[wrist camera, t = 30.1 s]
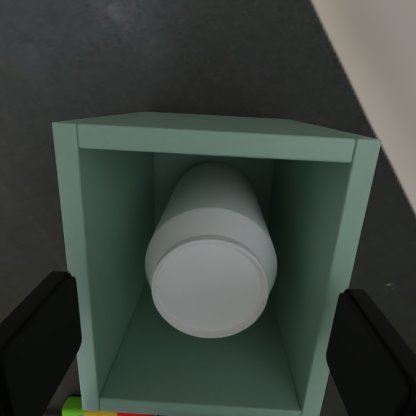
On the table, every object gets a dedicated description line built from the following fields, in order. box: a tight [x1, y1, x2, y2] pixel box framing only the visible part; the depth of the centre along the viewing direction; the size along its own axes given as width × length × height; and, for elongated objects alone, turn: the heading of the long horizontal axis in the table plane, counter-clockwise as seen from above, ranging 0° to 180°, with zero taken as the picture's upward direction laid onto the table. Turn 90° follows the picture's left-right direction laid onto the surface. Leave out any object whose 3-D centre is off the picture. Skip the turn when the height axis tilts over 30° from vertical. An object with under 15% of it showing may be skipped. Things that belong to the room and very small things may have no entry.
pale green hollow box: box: [52, 112, 381, 416], centre depth 18 cm, size 13×11×14 cm
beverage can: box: [145, 162, 277, 338], centre depth 18 cm, size 6×6×12 cm
